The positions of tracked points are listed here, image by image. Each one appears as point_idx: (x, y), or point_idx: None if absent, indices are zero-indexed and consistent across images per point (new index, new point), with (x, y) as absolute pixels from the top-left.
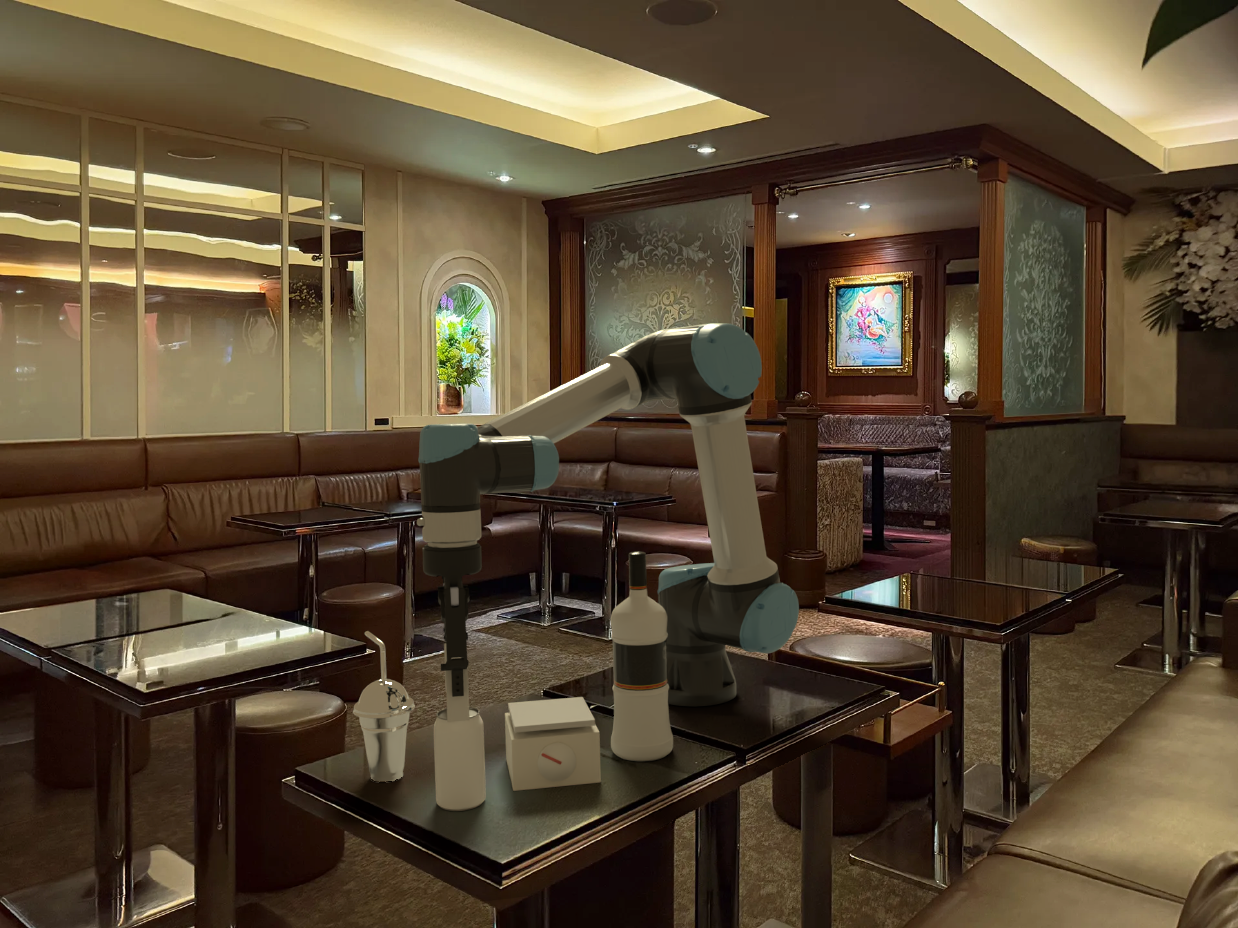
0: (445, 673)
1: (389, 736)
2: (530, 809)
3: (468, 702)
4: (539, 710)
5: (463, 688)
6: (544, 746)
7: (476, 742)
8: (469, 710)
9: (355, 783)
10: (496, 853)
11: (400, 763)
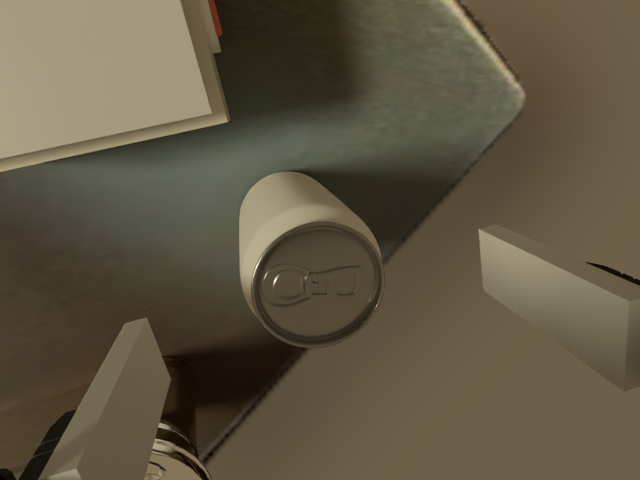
0: (158, 424)
1: (188, 431)
2: (328, 70)
3: (534, 242)
4: (12, 36)
5: (619, 272)
6: (202, 23)
7: (346, 206)
8: (275, 260)
9: (200, 421)
10: (498, 114)
11: (171, 373)
